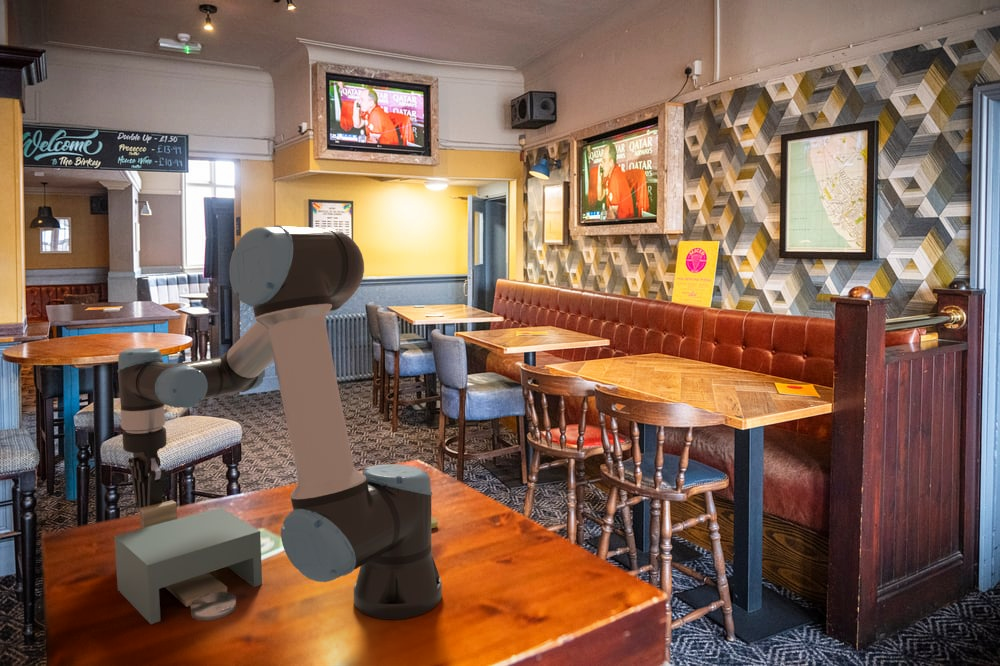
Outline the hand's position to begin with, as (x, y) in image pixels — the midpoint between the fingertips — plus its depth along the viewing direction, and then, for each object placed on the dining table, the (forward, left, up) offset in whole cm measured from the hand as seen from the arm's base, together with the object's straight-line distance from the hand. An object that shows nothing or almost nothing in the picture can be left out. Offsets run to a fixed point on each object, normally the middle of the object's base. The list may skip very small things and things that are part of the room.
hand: (150, 544), depth 137 cm
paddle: (-15, 0, -2) cm, 15 cm away
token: (-30, 0, -2) cm, 30 cm away
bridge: (-19, 0, -2) cm, 19 cm away
